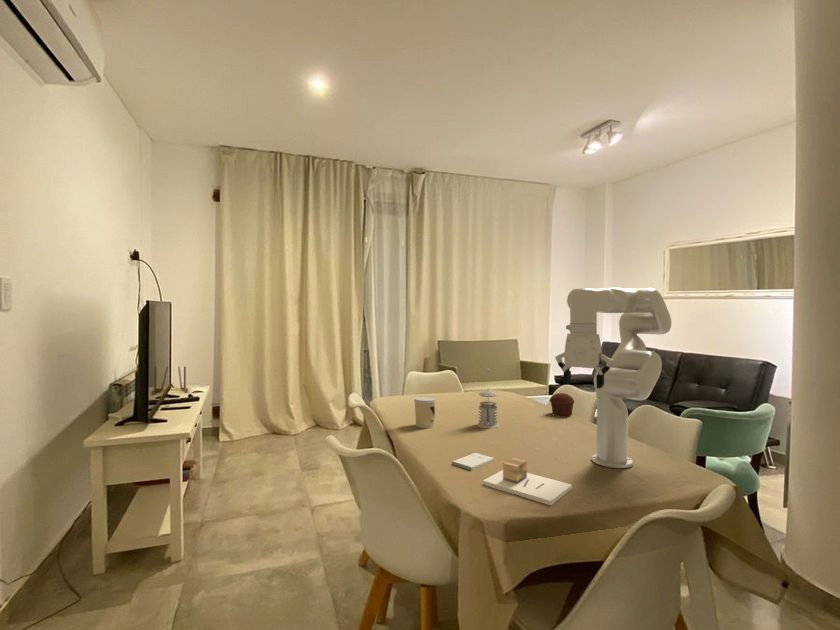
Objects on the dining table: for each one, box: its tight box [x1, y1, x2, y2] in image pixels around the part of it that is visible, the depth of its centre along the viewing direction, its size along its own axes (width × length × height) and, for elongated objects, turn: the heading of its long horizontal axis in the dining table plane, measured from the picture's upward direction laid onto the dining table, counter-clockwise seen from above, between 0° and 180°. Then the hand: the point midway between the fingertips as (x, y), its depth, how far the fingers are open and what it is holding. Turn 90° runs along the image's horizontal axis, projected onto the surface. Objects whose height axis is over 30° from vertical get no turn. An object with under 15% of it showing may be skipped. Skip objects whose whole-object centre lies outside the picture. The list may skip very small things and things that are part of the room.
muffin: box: [549, 392, 576, 417], centre depth 214 cm, size 12×11×10 cm
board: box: [482, 469, 573, 506], centre depth 128 cm, size 14×21×1 cm, turn 49°
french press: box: [476, 368, 500, 429], centre depth 193 cm, size 10×12×25 cm
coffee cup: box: [413, 396, 437, 429], centre depth 194 cm, size 9×9×12 cm
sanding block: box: [502, 457, 528, 484], centre depth 130 cm, size 6×4×5 cm
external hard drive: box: [451, 452, 495, 471], centre depth 148 cm, size 2×8×12 cm
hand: (583, 385), depth 134 cm, fingers open, 9 cm apart
